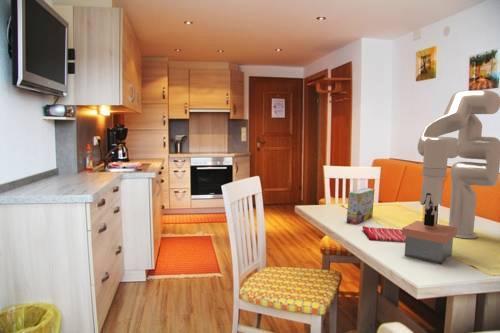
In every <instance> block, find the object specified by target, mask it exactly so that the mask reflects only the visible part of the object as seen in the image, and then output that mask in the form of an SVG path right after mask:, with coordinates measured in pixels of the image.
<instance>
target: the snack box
mask: <svg viewBox="0 0 500 333" xmlns="http://www.w3.org/2000/svg"><path fill="white" fill-rule="evenodd" d="M374 198H375V189H374V188H371V187H370V188H369V187H363V188H359V189H355V190H352V191H349V192H348V199H347V209H346V210H347V214H346V223H347V224H351V225H356V226H357V225H359V224H361V223H363V222H366V221H367V220H368V221H369V219H372V218H373V213H374V202H375V200H374Z"/></svg>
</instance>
